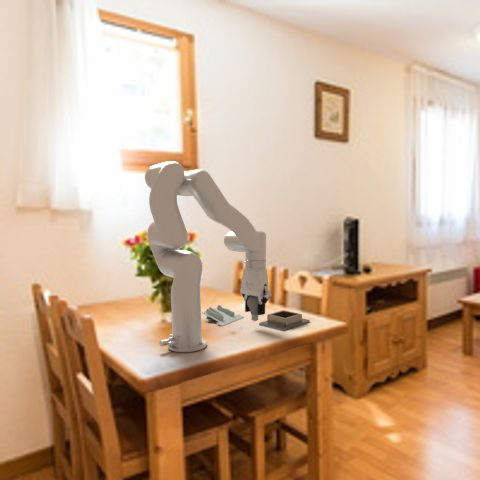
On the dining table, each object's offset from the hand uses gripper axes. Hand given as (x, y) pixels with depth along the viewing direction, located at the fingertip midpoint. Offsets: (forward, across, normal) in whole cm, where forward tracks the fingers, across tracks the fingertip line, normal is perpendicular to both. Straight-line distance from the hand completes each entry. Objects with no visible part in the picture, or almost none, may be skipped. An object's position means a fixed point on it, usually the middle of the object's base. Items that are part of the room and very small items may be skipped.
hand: (254, 312), depth 152 cm
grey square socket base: (+6, +3, +13) cm, 15 cm away
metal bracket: (+7, -20, +1) cm, 21 cm away
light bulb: (+3, 0, 0) cm, 3 cm away
